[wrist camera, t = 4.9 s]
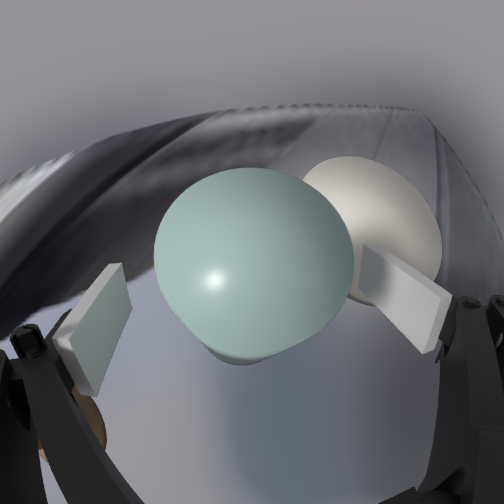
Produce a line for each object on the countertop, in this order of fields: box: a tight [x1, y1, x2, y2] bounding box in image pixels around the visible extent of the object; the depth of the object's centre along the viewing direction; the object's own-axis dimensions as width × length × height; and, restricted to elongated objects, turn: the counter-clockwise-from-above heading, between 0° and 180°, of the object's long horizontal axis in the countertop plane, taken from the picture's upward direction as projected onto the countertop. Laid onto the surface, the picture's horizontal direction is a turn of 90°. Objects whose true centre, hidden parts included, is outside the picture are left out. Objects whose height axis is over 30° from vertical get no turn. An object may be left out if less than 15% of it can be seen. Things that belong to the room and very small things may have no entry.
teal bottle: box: [154, 168, 354, 365], centre depth 13 cm, size 6×6×12 cm
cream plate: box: [303, 156, 442, 307], centre depth 23 cm, size 15×15×1 cm
